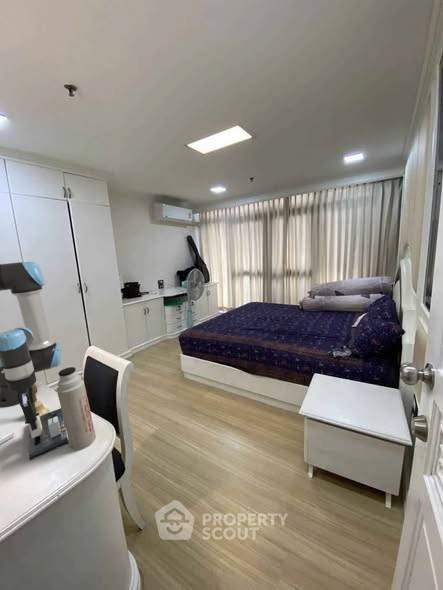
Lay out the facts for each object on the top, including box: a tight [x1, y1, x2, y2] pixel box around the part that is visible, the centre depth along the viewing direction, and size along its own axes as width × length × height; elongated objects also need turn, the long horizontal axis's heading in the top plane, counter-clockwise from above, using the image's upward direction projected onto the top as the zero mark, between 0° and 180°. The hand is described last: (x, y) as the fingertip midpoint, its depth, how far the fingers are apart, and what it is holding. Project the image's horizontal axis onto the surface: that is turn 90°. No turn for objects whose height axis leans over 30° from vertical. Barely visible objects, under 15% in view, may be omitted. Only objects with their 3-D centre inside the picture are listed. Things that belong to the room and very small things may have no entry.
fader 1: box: [36, 415, 42, 432], centre depth 91 cm, size 4×3×7 cm
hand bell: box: [31, 384, 51, 416], centre depth 103 cm, size 8×8×16 cm
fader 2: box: [48, 416, 61, 438], centre depth 89 cm, size 4×3×6 cm
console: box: [27, 407, 69, 461], centre depth 93 cm, size 22×11×3 cm, turn 36°
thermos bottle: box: [56, 366, 96, 451], centre depth 85 cm, size 8×8×28 cm
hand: (36, 435), depth 88 cm, fingers closed
